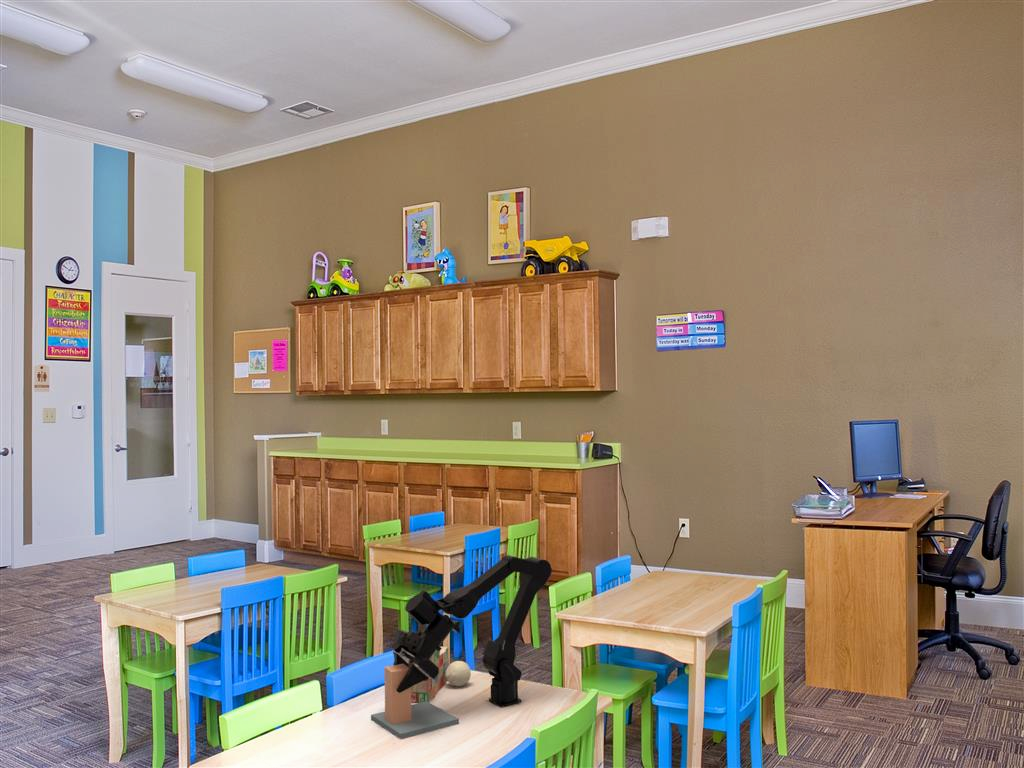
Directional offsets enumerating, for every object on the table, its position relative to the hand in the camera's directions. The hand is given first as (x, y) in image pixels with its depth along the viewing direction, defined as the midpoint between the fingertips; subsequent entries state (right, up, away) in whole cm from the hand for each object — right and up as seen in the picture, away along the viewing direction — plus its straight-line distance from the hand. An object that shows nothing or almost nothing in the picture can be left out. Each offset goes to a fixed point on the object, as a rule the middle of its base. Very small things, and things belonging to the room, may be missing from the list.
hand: (392, 687), depth 204 cm
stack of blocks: (+6, -10, +26) cm, 28 cm away
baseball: (+14, -10, +29) cm, 34 cm away
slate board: (+5, -9, +2) cm, 11 cm away
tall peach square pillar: (+1, -8, 0) cm, 8 cm away
